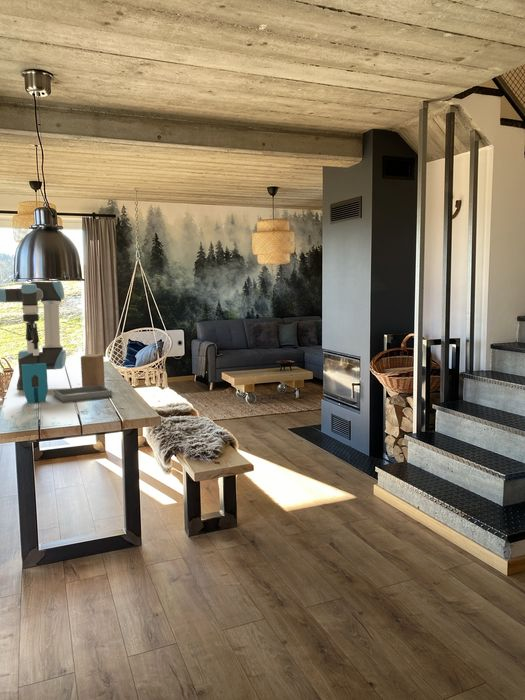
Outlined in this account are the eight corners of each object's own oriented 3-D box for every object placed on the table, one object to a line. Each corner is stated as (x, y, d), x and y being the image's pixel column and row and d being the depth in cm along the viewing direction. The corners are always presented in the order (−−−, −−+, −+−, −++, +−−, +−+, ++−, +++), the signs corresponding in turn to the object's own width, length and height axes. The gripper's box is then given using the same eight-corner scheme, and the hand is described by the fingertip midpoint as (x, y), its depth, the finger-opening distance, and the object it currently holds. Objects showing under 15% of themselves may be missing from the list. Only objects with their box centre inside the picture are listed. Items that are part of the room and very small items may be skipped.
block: (48, 399, 301) (45, 362, 299) (48, 401, 297) (46, 364, 294) (23, 401, 296) (21, 364, 294) (24, 403, 292) (21, 365, 289)
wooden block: (97, 390, 325) (95, 356, 323) (81, 389, 327) (79, 356, 325) (105, 387, 335) (103, 354, 332) (90, 386, 337) (88, 353, 334)
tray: (54, 396, 309) (53, 390, 309) (100, 390, 323) (100, 385, 323) (63, 402, 292) (63, 396, 292) (112, 396, 307) (111, 390, 306)
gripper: (18, 313, 299) (20, 352, 301) (27, 314, 278) (30, 357, 281) (33, 312, 303) (35, 351, 305) (43, 314, 282) (46, 355, 285)
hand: (33, 354), depth 293 cm, fingers open, 13 cm apart
